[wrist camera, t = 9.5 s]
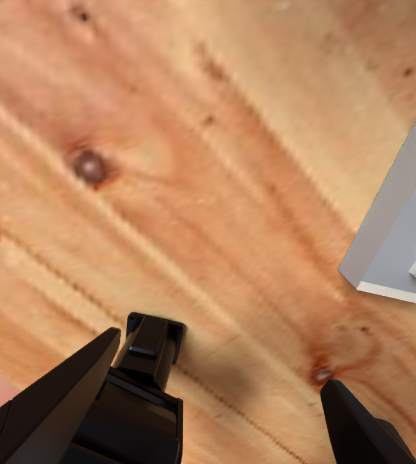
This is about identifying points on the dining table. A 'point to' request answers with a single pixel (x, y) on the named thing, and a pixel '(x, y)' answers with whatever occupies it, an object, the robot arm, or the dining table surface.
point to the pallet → (413, 269)
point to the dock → (388, 234)
